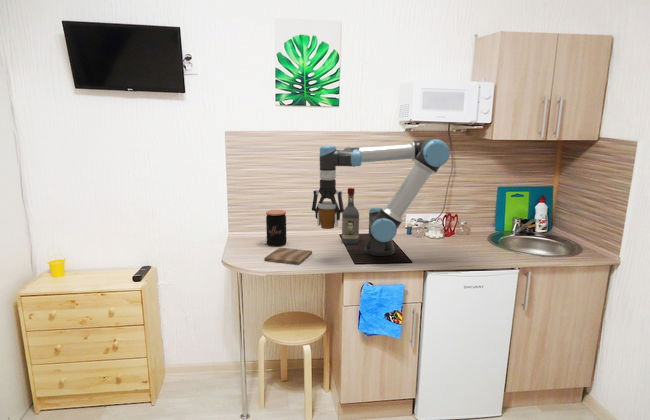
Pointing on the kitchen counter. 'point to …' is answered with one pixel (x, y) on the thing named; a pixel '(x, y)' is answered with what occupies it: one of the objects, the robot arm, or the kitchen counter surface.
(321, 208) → the disposable coffee cup
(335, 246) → the kitchen counter surface
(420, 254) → the kitchen counter surface
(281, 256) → the walnut board
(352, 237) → the liquor
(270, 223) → the coffee jar
